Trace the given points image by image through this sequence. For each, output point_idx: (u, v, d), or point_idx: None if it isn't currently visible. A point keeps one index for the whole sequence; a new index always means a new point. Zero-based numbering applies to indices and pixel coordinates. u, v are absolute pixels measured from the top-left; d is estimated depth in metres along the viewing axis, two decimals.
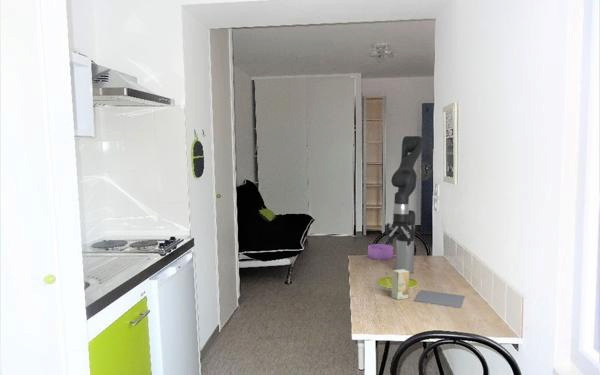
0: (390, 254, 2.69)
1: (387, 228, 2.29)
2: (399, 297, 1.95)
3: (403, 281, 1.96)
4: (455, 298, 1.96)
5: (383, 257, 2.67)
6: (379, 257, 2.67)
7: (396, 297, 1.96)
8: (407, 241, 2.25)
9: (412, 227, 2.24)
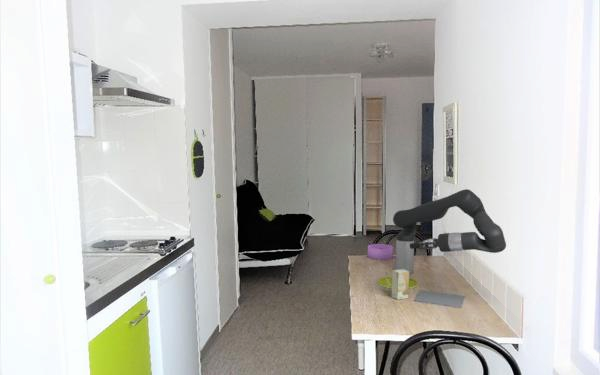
0: (390, 254, 2.70)
1: None
2: (399, 297, 1.95)
3: (403, 281, 1.96)
4: (455, 298, 1.96)
5: (383, 257, 2.68)
6: (379, 257, 2.68)
7: (396, 297, 1.96)
8: (421, 245, 1.95)
9: None
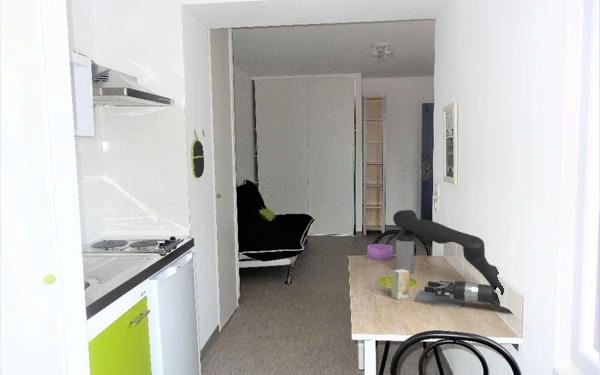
0: (390, 254, 2.69)
1: None
2: (399, 297, 1.95)
3: (403, 281, 1.96)
4: None
5: (383, 257, 2.68)
6: (379, 257, 2.68)
7: (396, 297, 1.96)
8: (432, 287, 1.95)
9: None
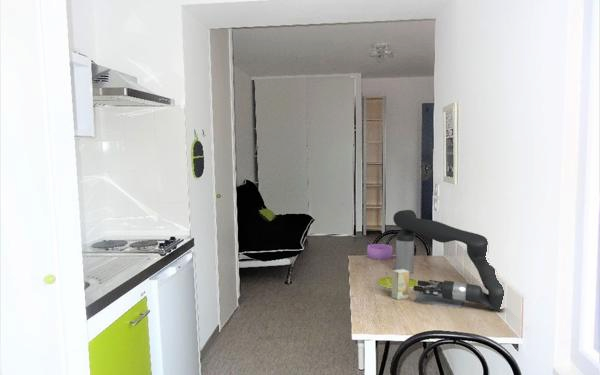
0: (390, 254, 2.70)
1: None
2: (399, 297, 1.95)
3: (403, 281, 1.96)
4: None
5: (383, 257, 2.68)
6: (379, 257, 2.68)
7: (396, 297, 1.96)
8: None
9: None
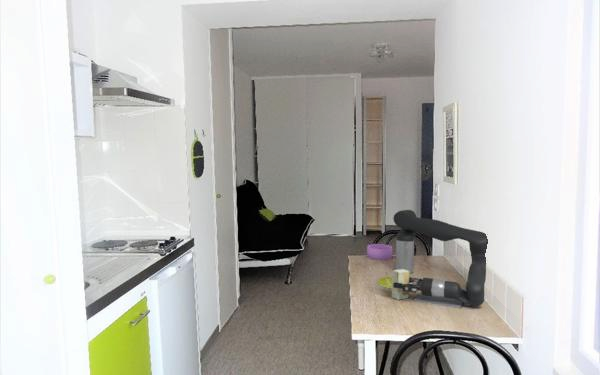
0: (389, 254, 2.69)
1: None
2: (399, 297, 1.95)
3: (403, 281, 1.96)
4: None
5: (383, 257, 2.68)
6: (379, 257, 2.68)
7: (396, 297, 1.96)
8: None
9: None
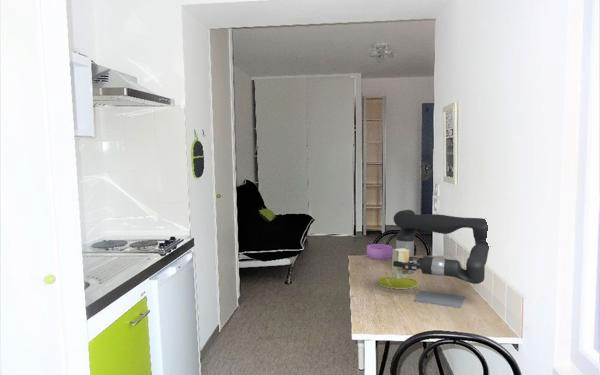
0: (389, 254, 2.69)
1: None
2: (399, 276, 1.95)
3: (403, 260, 1.95)
4: (455, 298, 1.96)
5: (382, 257, 2.68)
6: (378, 257, 2.68)
7: (396, 276, 1.95)
8: None
9: None
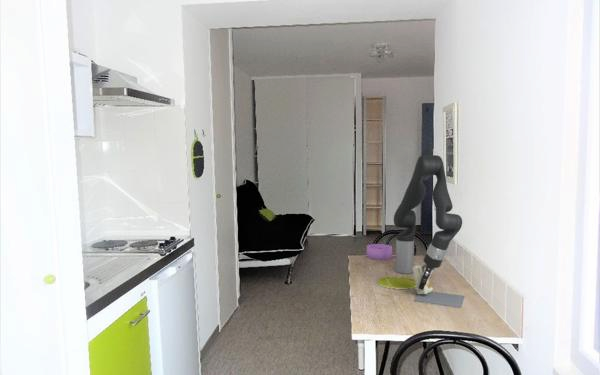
0: (389, 254, 2.69)
1: (428, 277, 1.92)
2: (426, 291, 1.97)
3: None
4: (455, 298, 1.96)
5: (382, 257, 2.67)
6: (378, 257, 2.68)
7: (423, 292, 1.97)
8: None
9: None
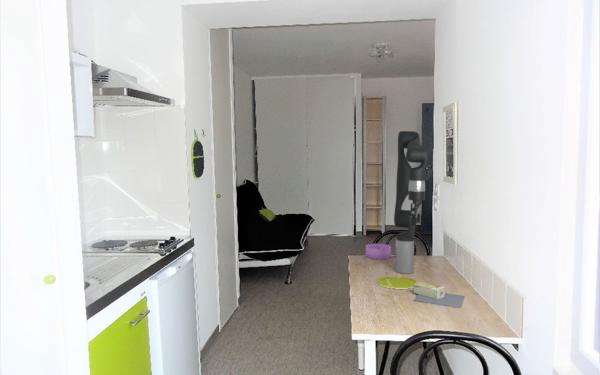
0: (388, 253, 2.71)
1: (416, 209, 2.06)
2: (436, 289, 1.95)
3: (425, 284, 2.02)
4: (455, 298, 1.96)
5: (382, 256, 2.68)
6: (378, 257, 2.68)
7: (435, 291, 1.95)
8: None
9: (421, 203, 2.17)
